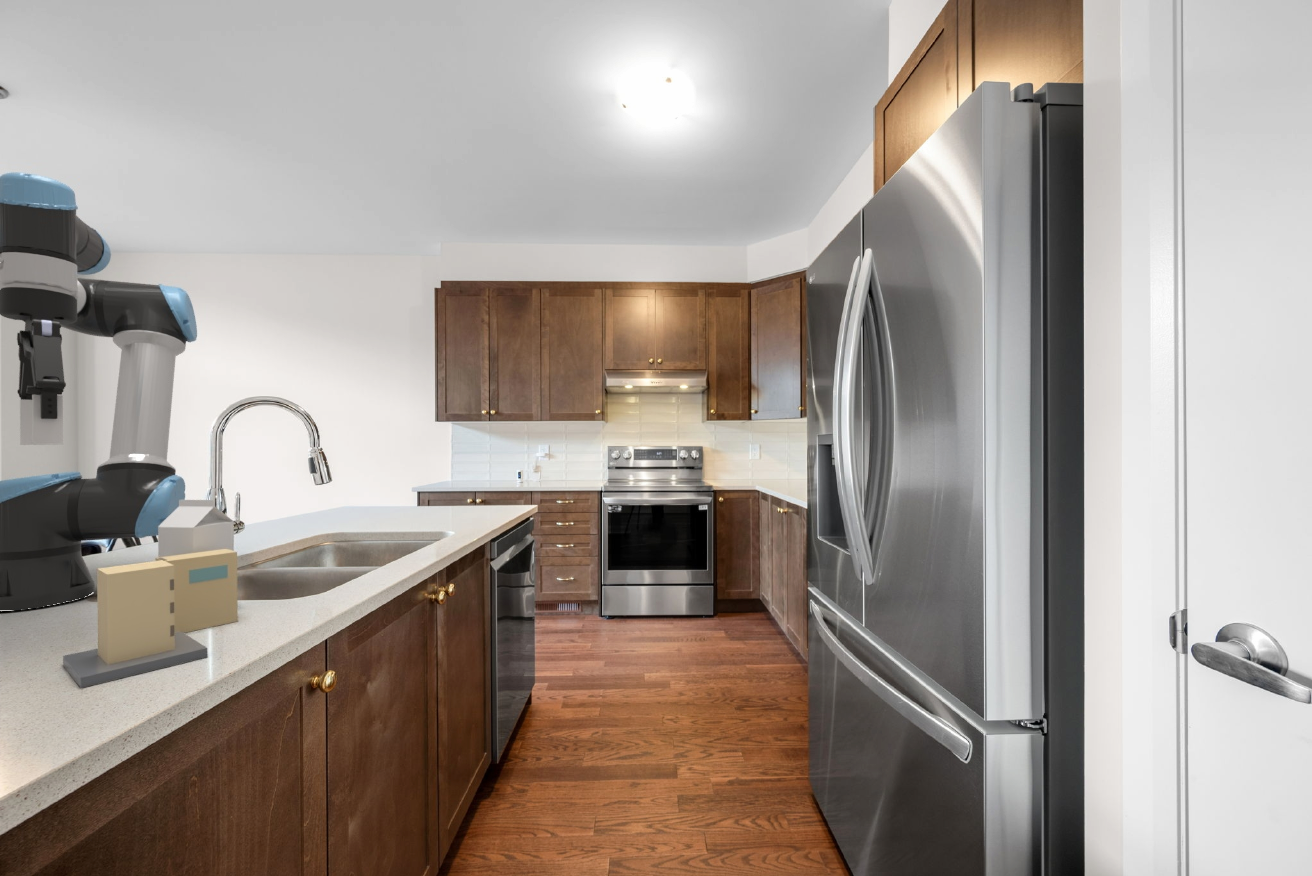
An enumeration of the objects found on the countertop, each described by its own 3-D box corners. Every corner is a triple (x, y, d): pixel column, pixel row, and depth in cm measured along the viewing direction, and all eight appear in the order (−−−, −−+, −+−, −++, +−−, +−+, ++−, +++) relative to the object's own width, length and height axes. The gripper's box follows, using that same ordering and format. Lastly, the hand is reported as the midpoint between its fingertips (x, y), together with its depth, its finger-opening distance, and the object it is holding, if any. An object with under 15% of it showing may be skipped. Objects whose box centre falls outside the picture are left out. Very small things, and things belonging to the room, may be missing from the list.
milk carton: (194, 621, 93) (193, 502, 93) (158, 619, 94) (157, 501, 95) (234, 609, 100) (233, 497, 100) (200, 607, 101) (199, 497, 101)
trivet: (63, 665, 75) (63, 655, 75) (180, 639, 84) (180, 631, 84) (80, 688, 67) (80, 677, 67) (207, 657, 77) (207, 648, 77)
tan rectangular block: (97, 654, 75) (97, 568, 75) (162, 640, 80) (161, 560, 80) (107, 664, 71) (107, 574, 71) (175, 649, 76) (174, 565, 77)
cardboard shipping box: (156, 630, 89) (155, 557, 89) (226, 615, 96) (226, 548, 96) (165, 636, 86) (164, 561, 86) (237, 621, 93) (237, 551, 93)
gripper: (-10, 300, 86) (-8, 445, 86) (8, 268, 70) (10, 445, 70) (62, 308, 92) (64, 444, 92) (93, 281, 76) (95, 444, 76)
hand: (40, 445), depth 81 cm, fingers open, 13 cm apart
